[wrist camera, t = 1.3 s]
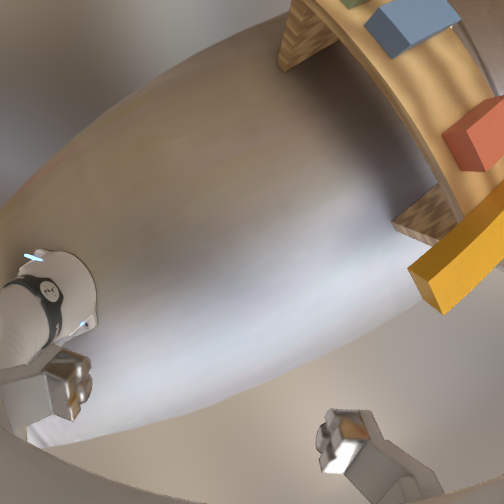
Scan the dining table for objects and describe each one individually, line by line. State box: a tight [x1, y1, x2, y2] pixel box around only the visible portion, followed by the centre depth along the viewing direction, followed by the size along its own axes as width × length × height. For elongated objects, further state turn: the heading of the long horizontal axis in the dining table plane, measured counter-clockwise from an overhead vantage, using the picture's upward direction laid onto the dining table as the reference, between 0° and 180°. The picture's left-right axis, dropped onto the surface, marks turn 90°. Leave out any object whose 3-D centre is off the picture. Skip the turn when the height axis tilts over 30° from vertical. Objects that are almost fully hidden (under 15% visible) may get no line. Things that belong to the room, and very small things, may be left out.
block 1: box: [364, 0, 461, 59], centre depth 19 cm, size 8×4×4 cm, turn 128°
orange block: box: [407, 180, 504, 315], centre depth 23 cm, size 20×4×4 cm, turn 128°
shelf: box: [277, 0, 504, 247], centre depth 34 cm, size 12×34×24 cm, turn 38°
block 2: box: [441, 95, 504, 172], centre depth 21 cm, size 8×4×4 cm, turn 127°
